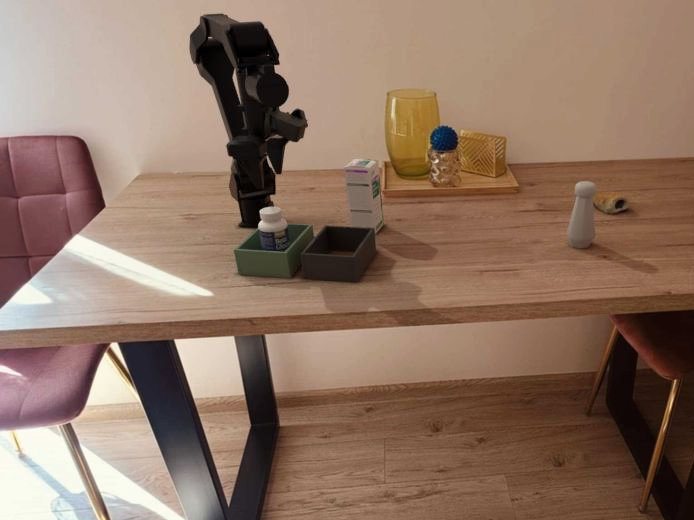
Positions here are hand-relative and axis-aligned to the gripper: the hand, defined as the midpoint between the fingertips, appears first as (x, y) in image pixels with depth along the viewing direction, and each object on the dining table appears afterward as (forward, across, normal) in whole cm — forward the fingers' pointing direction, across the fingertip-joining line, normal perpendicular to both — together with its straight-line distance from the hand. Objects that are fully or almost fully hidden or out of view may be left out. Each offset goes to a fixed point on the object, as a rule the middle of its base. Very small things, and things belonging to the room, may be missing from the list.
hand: (270, 181), depth 126 cm
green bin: (+13, -8, -3) cm, 16 cm away
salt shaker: (+13, +8, -62) cm, 64 cm away
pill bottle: (+13, -8, -3) cm, 15 cm away
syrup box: (+13, +10, -16) cm, 23 cm away
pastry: (+13, +31, -69) cm, 77 cm away
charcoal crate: (+13, -8, -16) cm, 22 cm away
